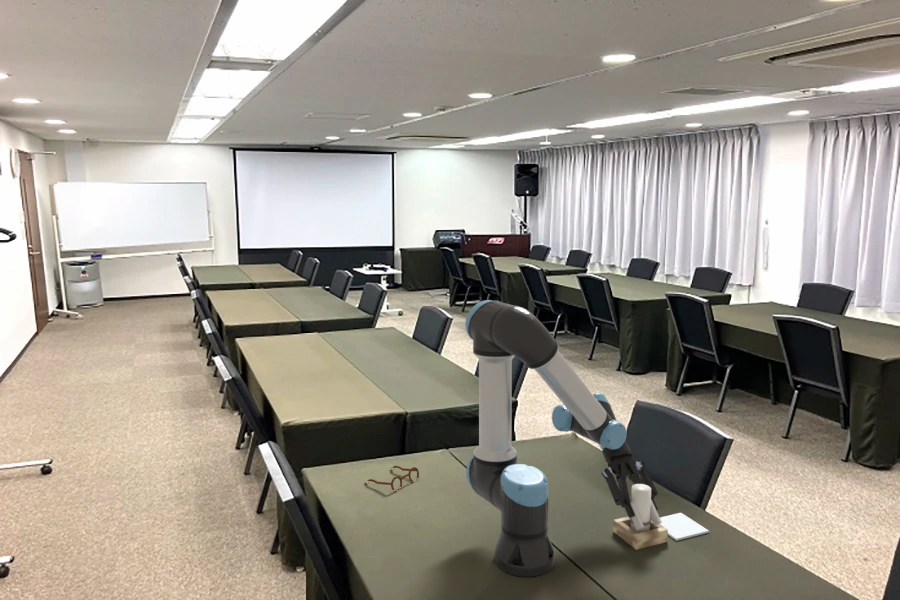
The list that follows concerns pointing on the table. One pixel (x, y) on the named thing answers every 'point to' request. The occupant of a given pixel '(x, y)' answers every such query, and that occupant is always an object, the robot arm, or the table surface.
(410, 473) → the glasses
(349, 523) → the table surface
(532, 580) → the table surface
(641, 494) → the white banded cylinder
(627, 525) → the collar
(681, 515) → the pad
